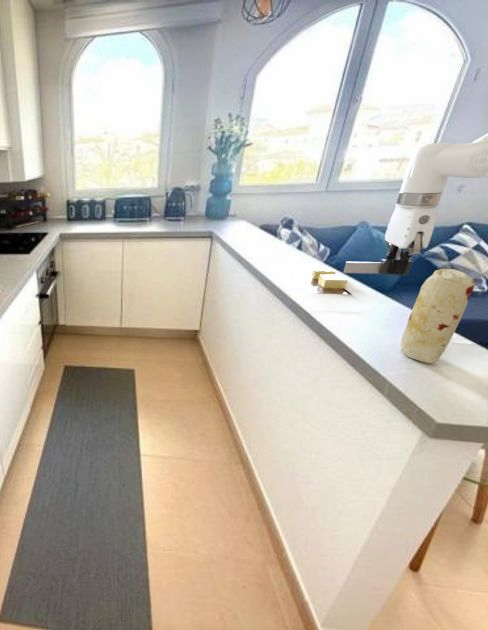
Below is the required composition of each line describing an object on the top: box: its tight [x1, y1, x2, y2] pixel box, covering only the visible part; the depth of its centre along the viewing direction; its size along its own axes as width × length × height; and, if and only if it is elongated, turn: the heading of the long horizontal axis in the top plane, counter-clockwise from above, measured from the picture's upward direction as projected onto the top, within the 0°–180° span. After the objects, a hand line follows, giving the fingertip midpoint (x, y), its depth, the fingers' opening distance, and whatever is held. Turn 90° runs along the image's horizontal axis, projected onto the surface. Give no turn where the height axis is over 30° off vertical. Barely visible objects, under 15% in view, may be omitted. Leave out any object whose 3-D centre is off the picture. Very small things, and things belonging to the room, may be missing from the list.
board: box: [291, 275, 352, 295], centre depth 115 cm, size 14×16×2 cm
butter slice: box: [311, 268, 336, 279], centre depth 119 cm, size 6×2×3 cm, turn 76°
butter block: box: [318, 274, 348, 289], centre depth 112 cm, size 6×5×3 cm
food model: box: [399, 268, 476, 364], centre depth 74 cm, size 10×7×20 cm
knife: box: [342, 258, 414, 276], centre depth 92 cm, size 14×2×4 cm, turn 75°
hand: (392, 271), depth 91 cm, fingers closed on knife, 2 cm apart
